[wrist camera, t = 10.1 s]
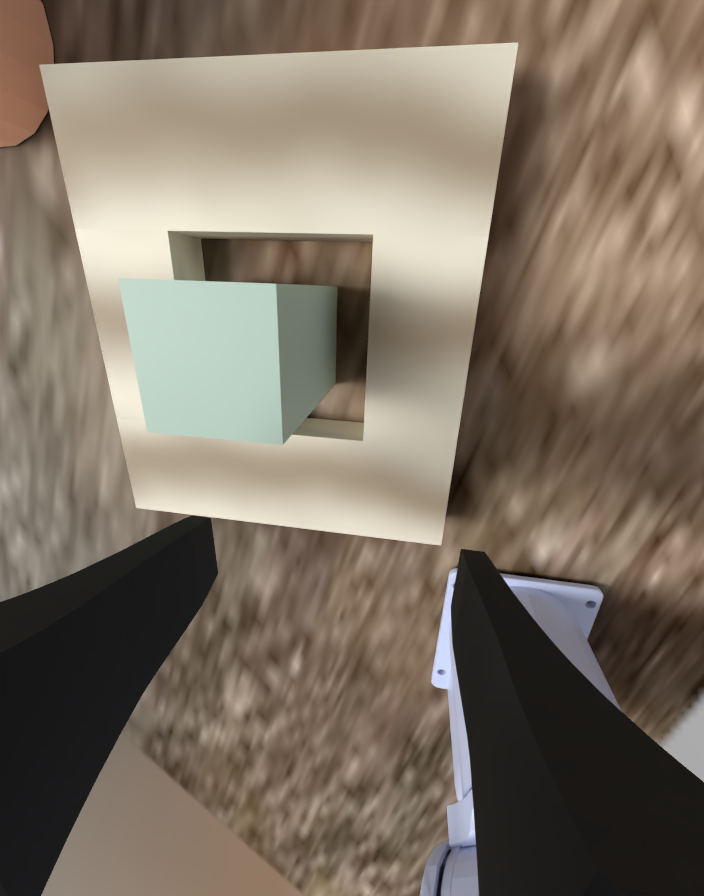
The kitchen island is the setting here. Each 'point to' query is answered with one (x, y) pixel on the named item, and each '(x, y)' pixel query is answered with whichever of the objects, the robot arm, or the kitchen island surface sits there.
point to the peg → (230, 355)
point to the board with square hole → (297, 219)
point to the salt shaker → (22, 68)
